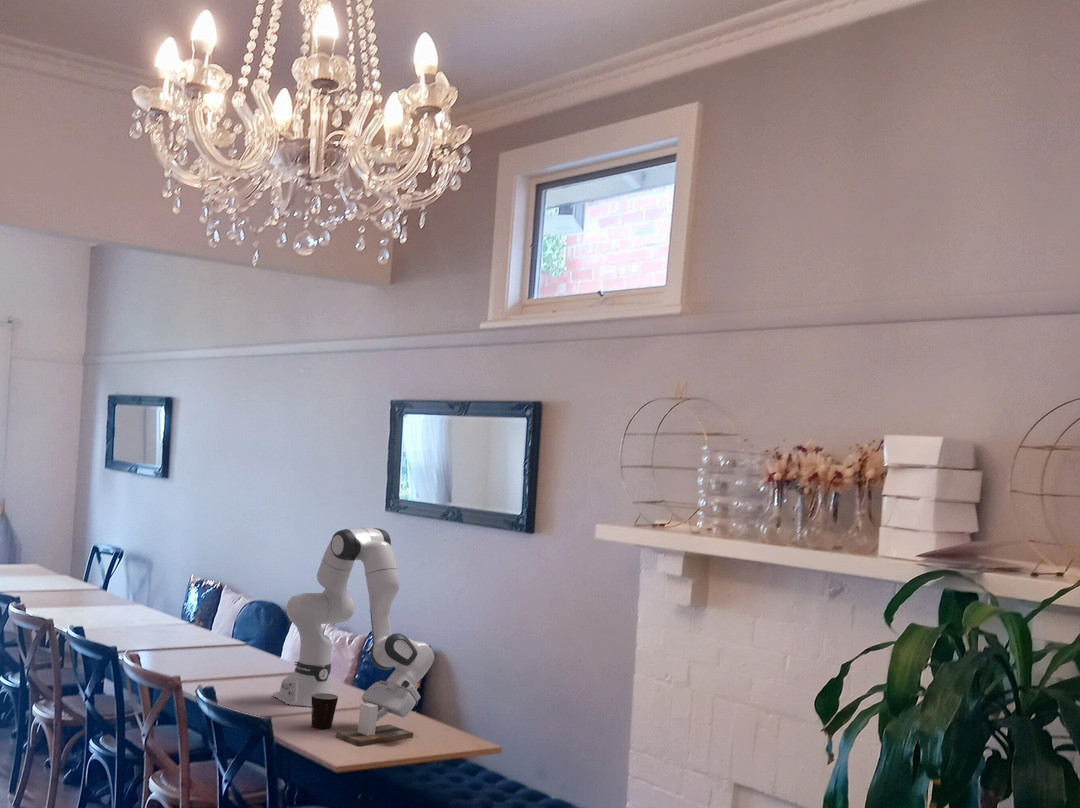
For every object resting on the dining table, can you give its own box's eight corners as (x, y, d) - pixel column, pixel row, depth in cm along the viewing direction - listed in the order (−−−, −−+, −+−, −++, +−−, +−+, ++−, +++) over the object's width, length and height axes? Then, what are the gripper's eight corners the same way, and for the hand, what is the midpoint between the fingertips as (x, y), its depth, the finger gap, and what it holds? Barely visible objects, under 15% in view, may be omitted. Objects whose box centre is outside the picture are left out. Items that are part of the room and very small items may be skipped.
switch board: (335, 736, 320) (336, 731, 321) (388, 728, 337) (389, 724, 337) (359, 746, 312) (360, 741, 313) (412, 737, 329) (413, 732, 329)
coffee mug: (312, 722, 335) (316, 691, 336) (338, 725, 334) (341, 695, 335) (301, 730, 324) (304, 699, 325) (327, 734, 323) (330, 702, 324)
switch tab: (357, 732, 322) (360, 703, 323) (364, 730, 325) (368, 702, 325) (367, 735, 319) (370, 706, 320) (374, 734, 321) (378, 705, 322)
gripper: (374, 673, 337) (347, 705, 329) (415, 686, 324) (388, 720, 316) (383, 685, 340) (357, 718, 332) (424, 698, 327) (398, 733, 319)
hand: (372, 719), depth 324 cm, fingers closed, pressing on switch tab
